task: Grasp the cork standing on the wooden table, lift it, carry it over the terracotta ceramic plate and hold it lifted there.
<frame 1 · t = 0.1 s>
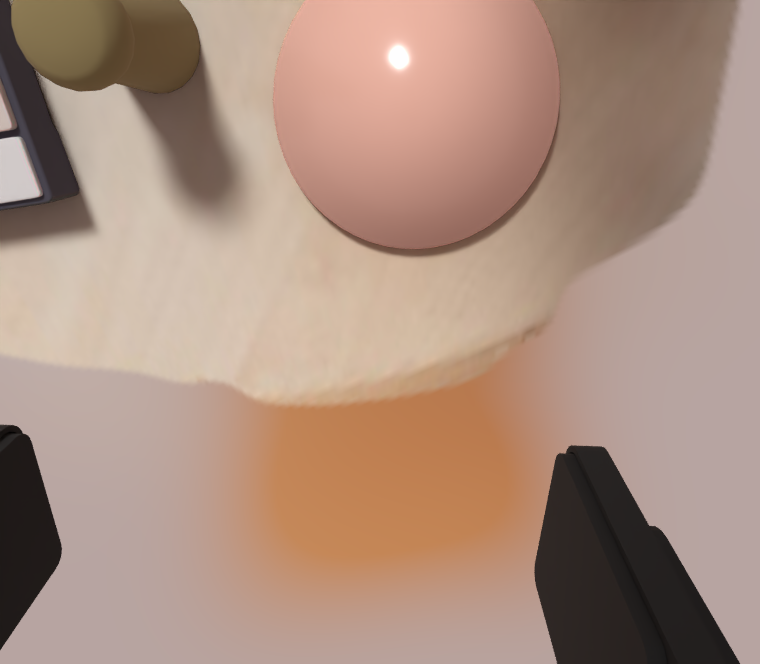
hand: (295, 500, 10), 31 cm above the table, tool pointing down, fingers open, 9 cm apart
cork: (153, 41, 35), on the table
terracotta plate: (414, 110, 36), on the table
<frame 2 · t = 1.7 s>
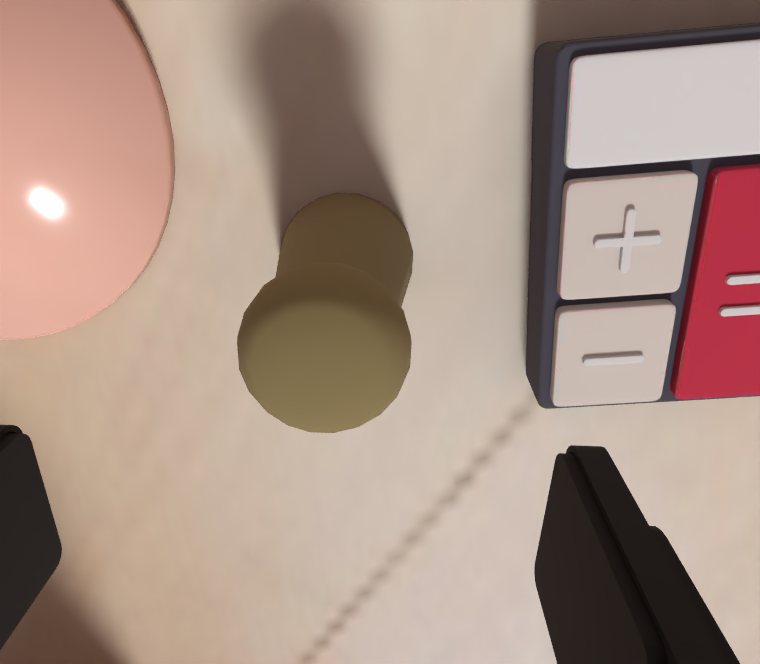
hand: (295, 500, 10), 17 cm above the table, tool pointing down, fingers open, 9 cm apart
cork: (347, 259, 26), on the table
calculator: (650, 221, 25), on the table
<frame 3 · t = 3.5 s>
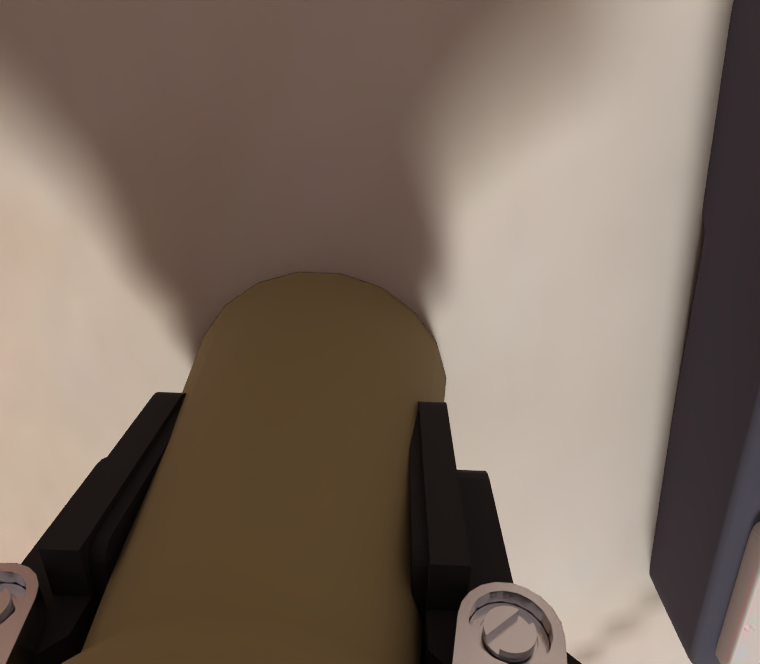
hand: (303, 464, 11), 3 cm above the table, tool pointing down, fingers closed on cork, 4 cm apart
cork: (322, 385, 14), on the table, touching gripper
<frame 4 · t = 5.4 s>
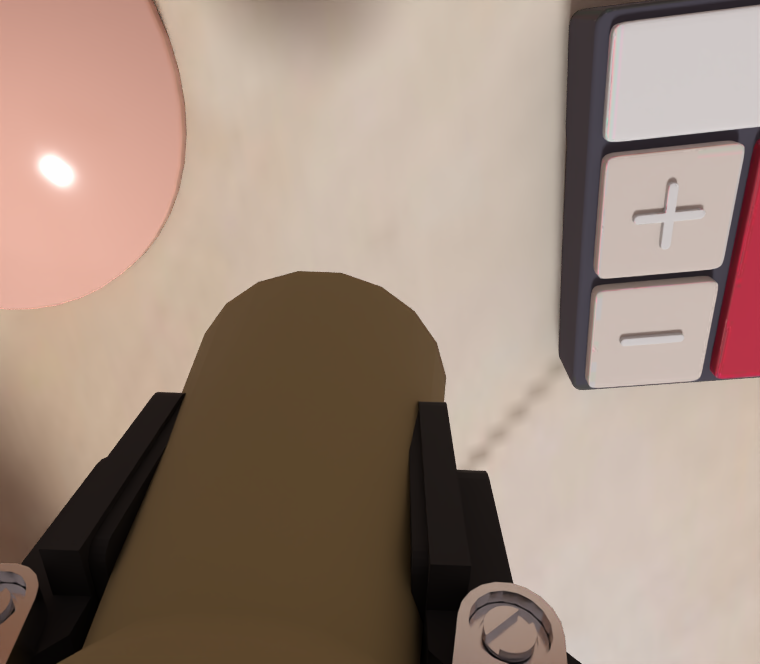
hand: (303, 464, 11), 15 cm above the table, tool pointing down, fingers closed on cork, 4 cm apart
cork: (322, 384, 14), point 12 cm above the table, touching gripper
calculator: (689, 195, 24), on the table
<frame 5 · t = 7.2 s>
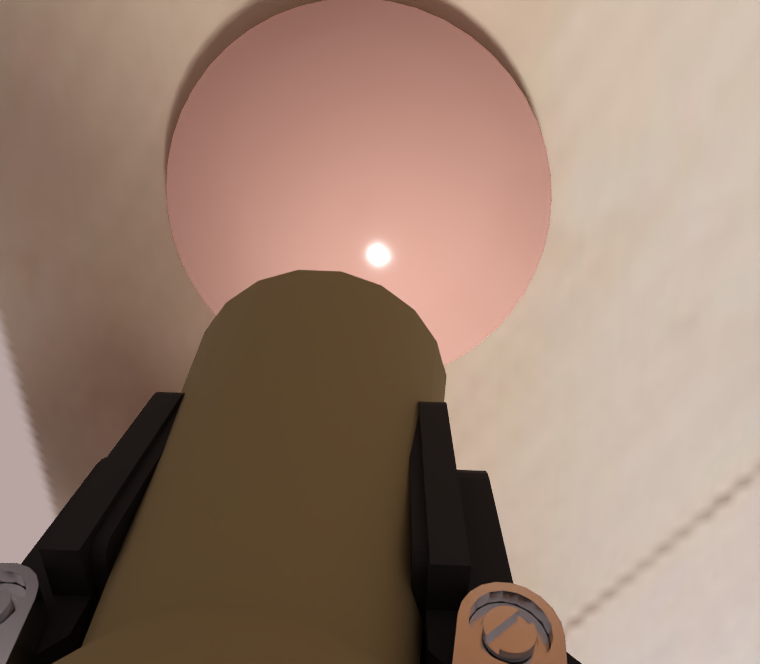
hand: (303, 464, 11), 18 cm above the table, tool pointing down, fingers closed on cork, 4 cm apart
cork: (322, 383, 14), point 15 cm above the table, touching gripper
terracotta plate: (359, 214, 27), on the table
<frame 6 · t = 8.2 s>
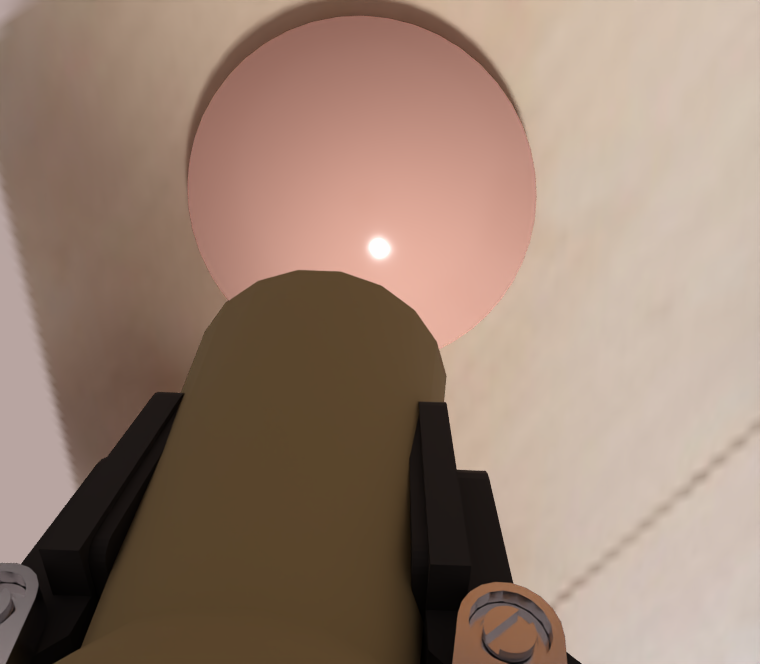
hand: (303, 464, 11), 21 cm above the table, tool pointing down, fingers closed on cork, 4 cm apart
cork: (322, 383, 14), point 18 cm above the table, touching gripper
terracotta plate: (362, 209, 30), on the table
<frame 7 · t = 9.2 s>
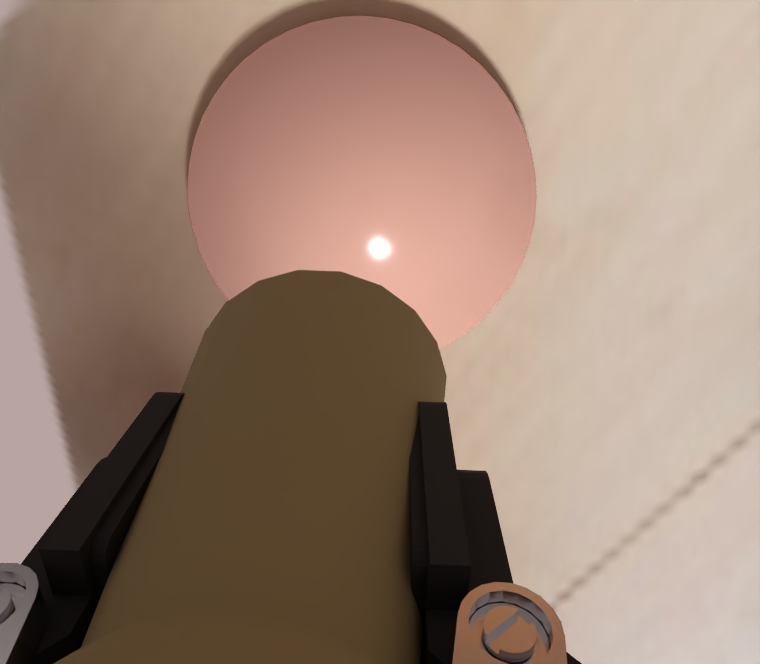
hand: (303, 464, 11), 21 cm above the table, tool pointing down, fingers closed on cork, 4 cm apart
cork: (322, 383, 14), point 18 cm above the table, touching gripper
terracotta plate: (362, 209, 30), on the table
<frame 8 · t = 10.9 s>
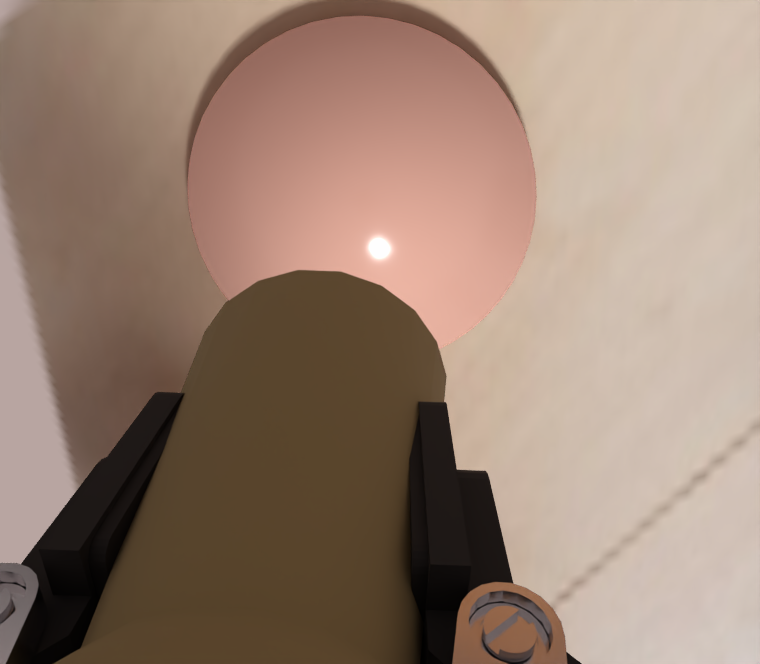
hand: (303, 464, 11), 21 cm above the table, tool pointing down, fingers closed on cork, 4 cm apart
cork: (322, 383, 14), point 18 cm above the table, touching gripper
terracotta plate: (362, 209, 30), on the table
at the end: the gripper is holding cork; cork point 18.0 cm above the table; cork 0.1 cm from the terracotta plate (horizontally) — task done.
